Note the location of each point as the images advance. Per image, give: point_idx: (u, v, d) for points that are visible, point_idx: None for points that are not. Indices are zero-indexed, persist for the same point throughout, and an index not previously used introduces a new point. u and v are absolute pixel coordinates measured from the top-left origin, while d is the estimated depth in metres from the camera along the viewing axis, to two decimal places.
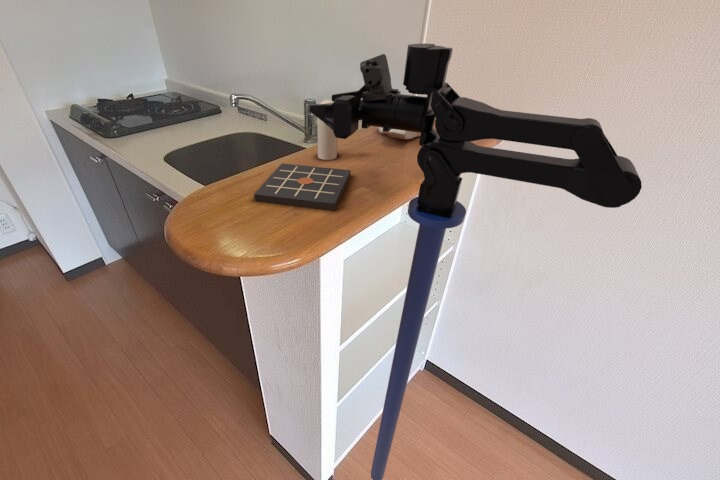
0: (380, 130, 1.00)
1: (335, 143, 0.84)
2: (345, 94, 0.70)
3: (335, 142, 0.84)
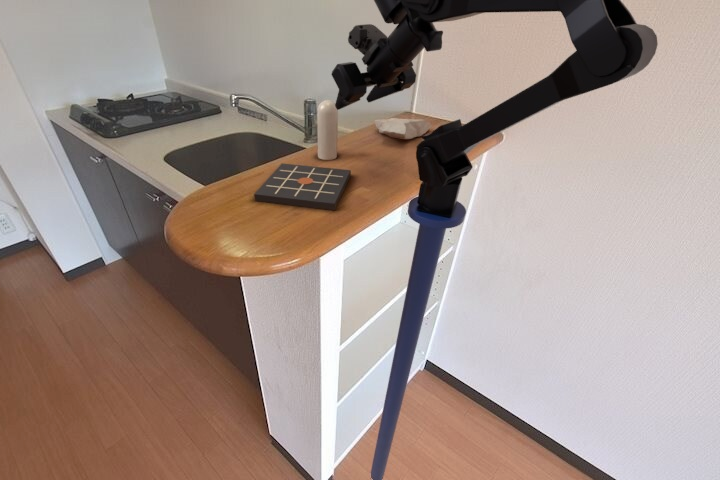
0: (380, 130, 1.00)
1: (335, 143, 0.84)
2: (373, 88, 0.74)
3: (335, 142, 0.84)
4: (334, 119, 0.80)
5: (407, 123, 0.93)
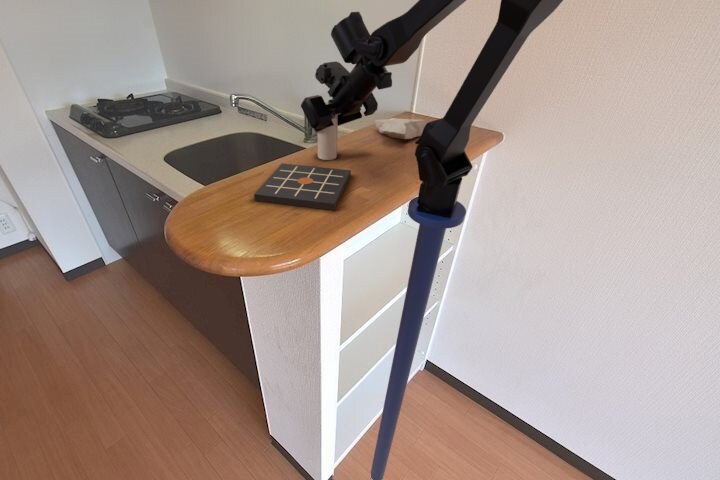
0: (380, 130, 1.00)
1: (335, 143, 0.84)
2: None
3: (335, 142, 0.84)
4: (334, 119, 0.80)
5: (407, 123, 0.93)
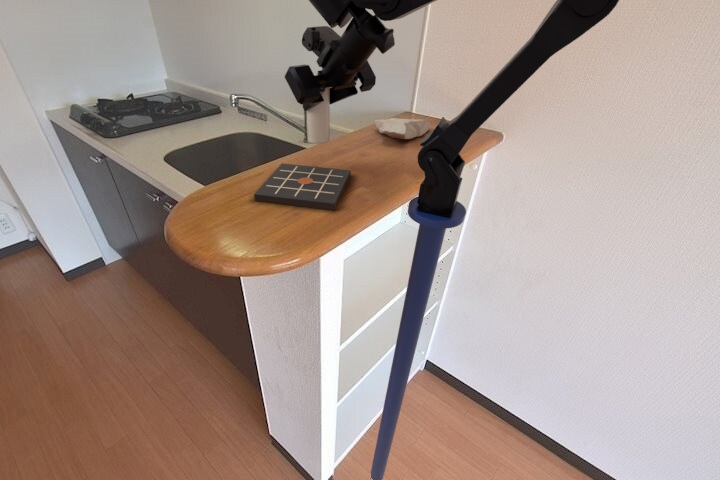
0: (380, 130, 1.00)
1: (327, 124, 0.73)
2: None
3: (327, 123, 0.73)
4: (326, 95, 0.70)
5: (407, 123, 0.93)
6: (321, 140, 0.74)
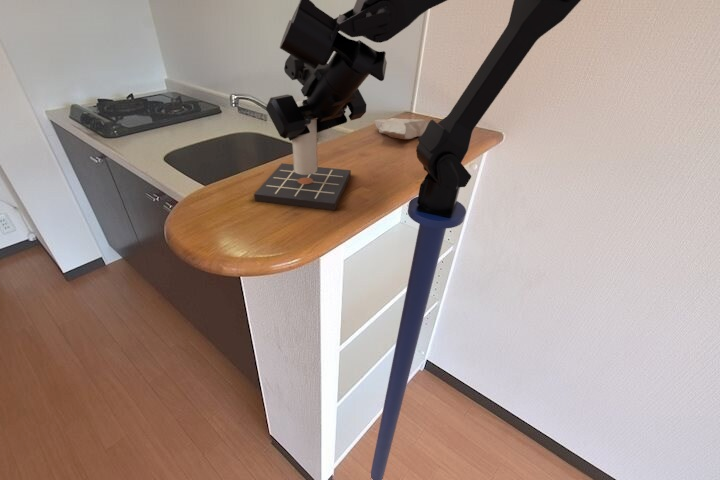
0: (380, 130, 1.00)
1: (314, 154, 0.68)
2: None
3: (314, 153, 0.68)
4: (312, 125, 0.64)
5: (407, 123, 0.93)
6: (308, 171, 0.69)
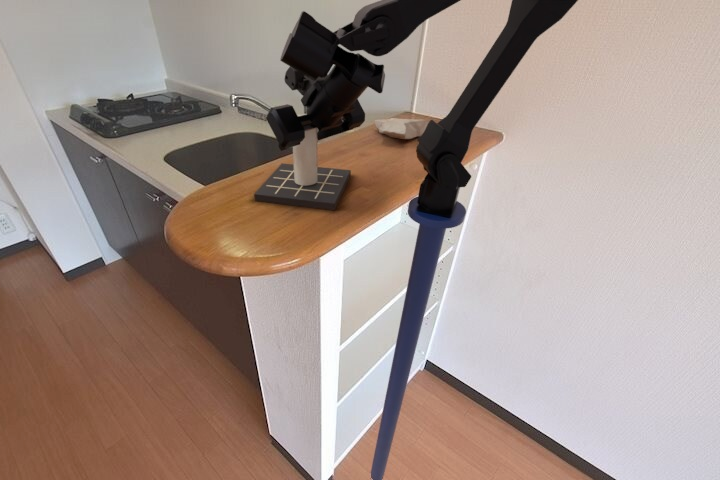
0: (380, 130, 1.00)
1: (314, 166, 0.69)
2: None
3: (314, 164, 0.69)
4: (313, 138, 0.65)
5: (407, 123, 0.93)
6: (308, 182, 0.70)
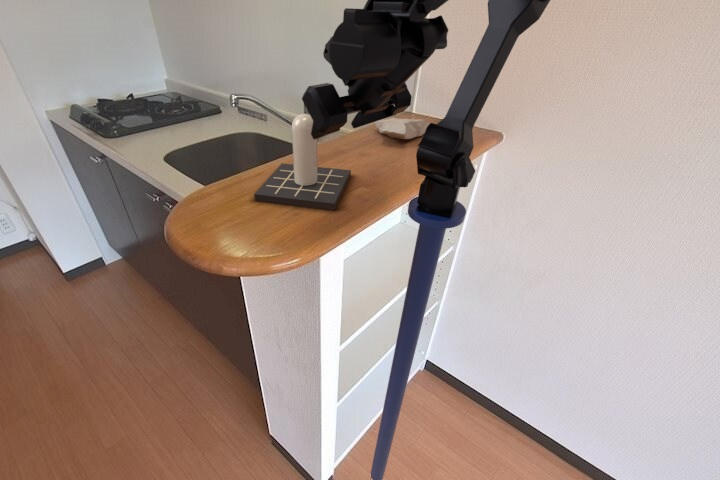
0: (380, 130, 1.00)
1: (314, 166, 0.69)
2: (359, 111, 0.60)
3: (314, 164, 0.69)
4: None
5: (407, 123, 0.93)
6: (308, 182, 0.70)
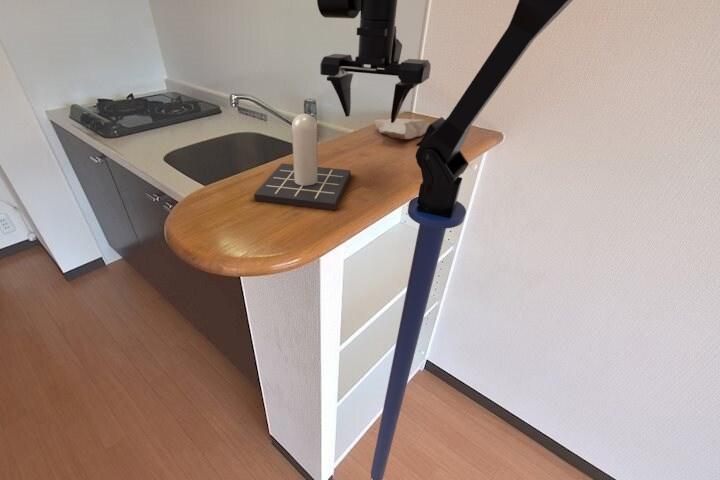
0: (380, 130, 1.00)
1: (314, 166, 0.69)
2: None
3: (314, 164, 0.69)
4: (313, 138, 0.65)
5: (407, 123, 0.93)
6: (308, 182, 0.70)
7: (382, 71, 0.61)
